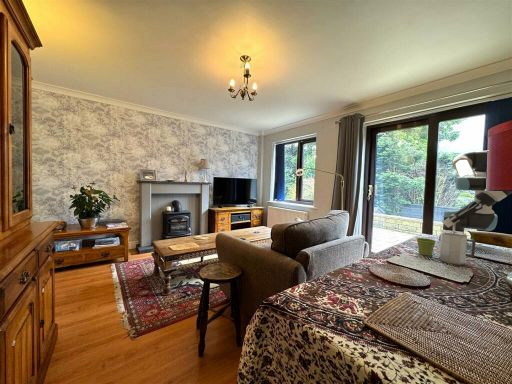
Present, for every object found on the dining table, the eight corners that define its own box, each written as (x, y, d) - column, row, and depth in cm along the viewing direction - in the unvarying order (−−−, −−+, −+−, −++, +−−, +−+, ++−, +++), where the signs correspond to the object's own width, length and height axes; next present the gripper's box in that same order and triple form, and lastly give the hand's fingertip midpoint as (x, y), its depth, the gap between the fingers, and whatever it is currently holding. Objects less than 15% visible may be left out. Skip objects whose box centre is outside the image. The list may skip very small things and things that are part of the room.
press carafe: (437, 256, 126) (439, 229, 125) (470, 261, 118) (472, 232, 118) (440, 262, 117) (442, 232, 116) (476, 267, 110) (478, 236, 109)
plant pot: (412, 252, 132) (412, 238, 131) (421, 250, 136) (421, 237, 135) (429, 257, 123) (430, 242, 123) (438, 255, 127) (439, 241, 127)
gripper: (477, 190, 118) (436, 217, 128) (488, 191, 104) (441, 221, 114) (490, 200, 116) (447, 227, 126) (504, 203, 101) (454, 233, 111)
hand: (444, 224), depth 120 cm, fingers closed on plunger, 4 cm apart
